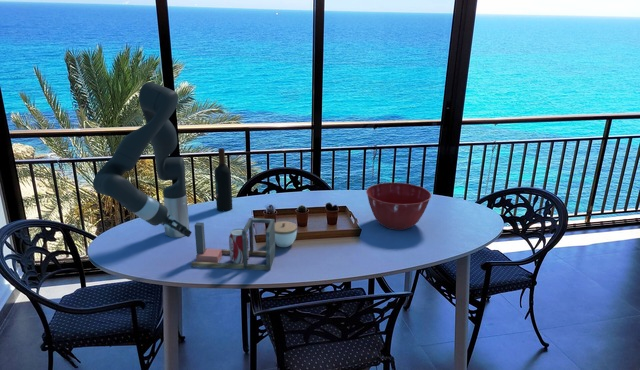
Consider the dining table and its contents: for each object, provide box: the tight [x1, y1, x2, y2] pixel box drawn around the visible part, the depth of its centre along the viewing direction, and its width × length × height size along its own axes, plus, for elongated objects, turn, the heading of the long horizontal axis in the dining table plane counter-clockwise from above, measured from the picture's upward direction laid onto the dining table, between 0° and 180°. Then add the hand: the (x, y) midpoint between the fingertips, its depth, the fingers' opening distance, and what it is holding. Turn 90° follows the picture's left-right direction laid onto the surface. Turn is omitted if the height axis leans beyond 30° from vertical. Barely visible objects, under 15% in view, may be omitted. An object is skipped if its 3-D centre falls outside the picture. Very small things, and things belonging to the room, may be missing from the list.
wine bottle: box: [214, 147, 233, 212], centre depth 213 cm, size 8×8×30 cm
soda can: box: [228, 228, 250, 264], centre depth 166 cm, size 7×7×12 cm
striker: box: [193, 222, 223, 263], centre depth 166 cm, size 8×6×14 cm
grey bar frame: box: [190, 217, 276, 271], centre depth 166 cm, size 29×12×15 cm, turn 87°
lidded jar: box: [275, 221, 298, 248], centre depth 181 cm, size 11×11×9 cm
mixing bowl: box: [366, 182, 432, 231], centre depth 201 cm, size 28×28×16 cm
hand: (183, 231), depth 159 cm, fingers open, 8 cm apart
